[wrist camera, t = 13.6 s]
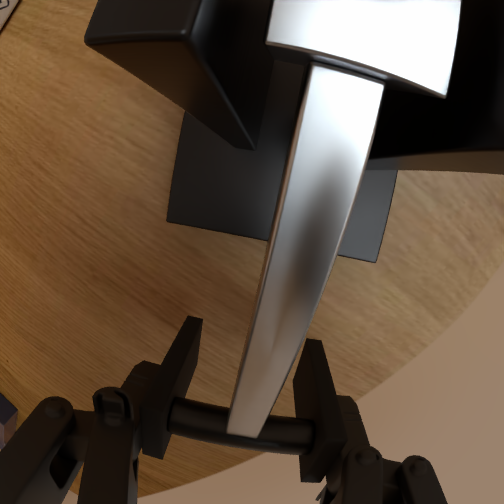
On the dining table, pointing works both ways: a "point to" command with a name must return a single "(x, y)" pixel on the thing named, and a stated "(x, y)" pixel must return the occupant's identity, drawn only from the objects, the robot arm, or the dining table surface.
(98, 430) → the robot arm
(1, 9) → the planter
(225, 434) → the faucet lever
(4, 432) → the valve plate
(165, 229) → the dining table surface
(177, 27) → the black angular piece
